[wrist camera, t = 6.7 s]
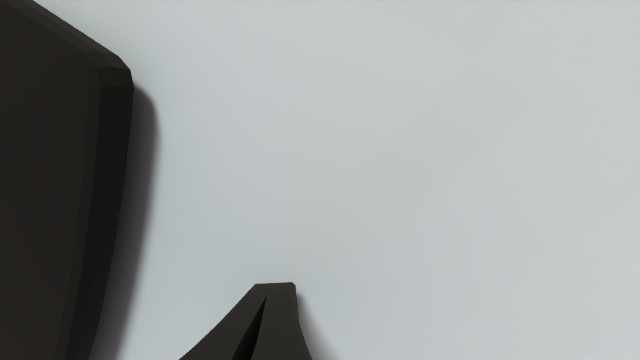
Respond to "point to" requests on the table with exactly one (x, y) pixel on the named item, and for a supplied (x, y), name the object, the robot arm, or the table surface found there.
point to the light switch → (57, 181)
